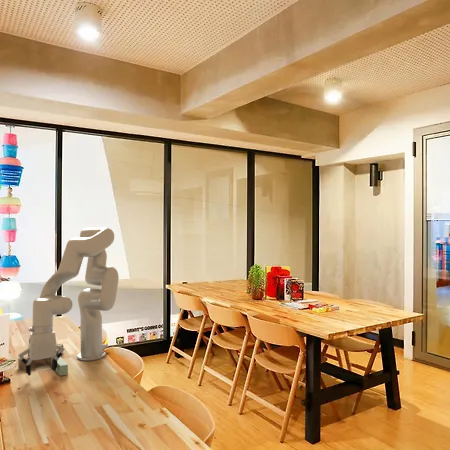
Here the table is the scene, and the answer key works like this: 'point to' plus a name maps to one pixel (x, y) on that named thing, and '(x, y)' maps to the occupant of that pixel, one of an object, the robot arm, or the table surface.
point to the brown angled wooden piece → (37, 361)
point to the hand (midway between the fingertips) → (41, 372)
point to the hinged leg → (61, 366)
